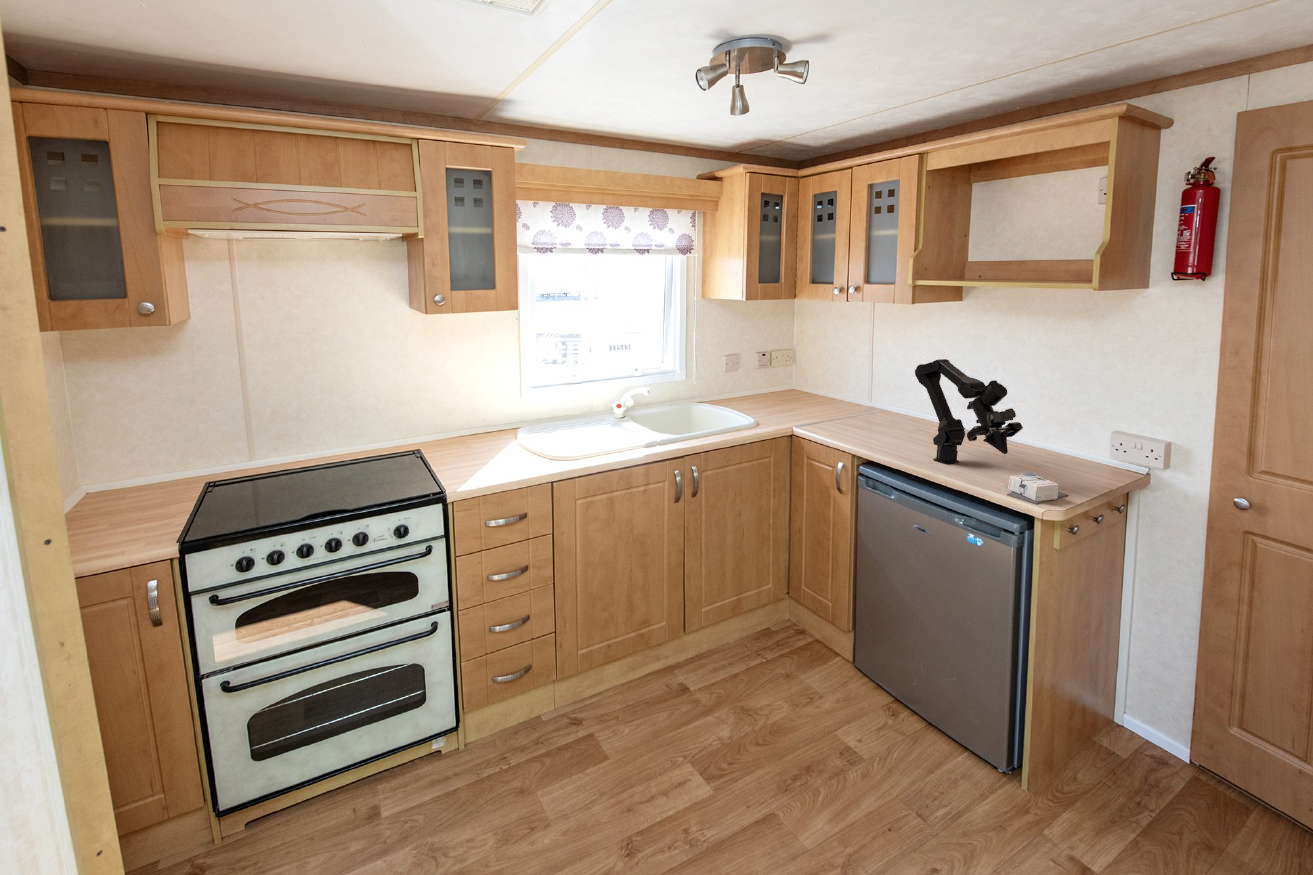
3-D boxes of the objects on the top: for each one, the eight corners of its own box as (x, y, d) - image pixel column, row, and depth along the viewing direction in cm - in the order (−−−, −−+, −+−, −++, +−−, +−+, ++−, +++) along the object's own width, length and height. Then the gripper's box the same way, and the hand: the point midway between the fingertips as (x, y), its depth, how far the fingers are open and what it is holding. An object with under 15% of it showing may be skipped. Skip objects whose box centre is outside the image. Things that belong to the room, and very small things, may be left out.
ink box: (1031, 473, 235) (1060, 483, 224) (1029, 488, 236) (1058, 499, 225) (1009, 475, 232) (1037, 485, 221) (1007, 490, 234) (1035, 501, 223)
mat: (1006, 494, 230) (1006, 493, 230) (1038, 487, 238) (1038, 485, 237) (1035, 504, 222) (1035, 503, 222) (1068, 495, 229) (1068, 494, 229)
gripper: (976, 402, 236) (998, 443, 229) (1022, 398, 242) (1044, 438, 235) (957, 420, 245) (977, 460, 238) (1001, 416, 251) (1022, 455, 244)
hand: (1006, 453), depth 239 cm, fingers closed
